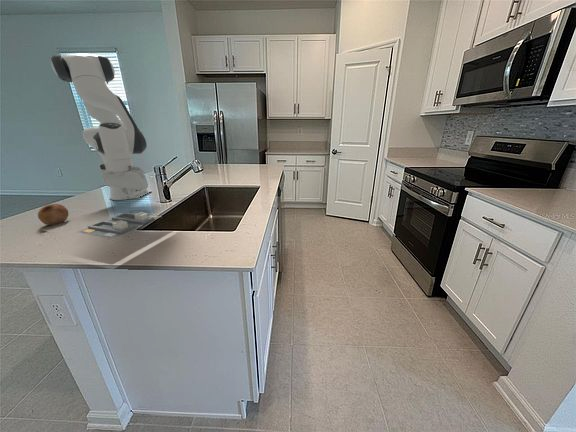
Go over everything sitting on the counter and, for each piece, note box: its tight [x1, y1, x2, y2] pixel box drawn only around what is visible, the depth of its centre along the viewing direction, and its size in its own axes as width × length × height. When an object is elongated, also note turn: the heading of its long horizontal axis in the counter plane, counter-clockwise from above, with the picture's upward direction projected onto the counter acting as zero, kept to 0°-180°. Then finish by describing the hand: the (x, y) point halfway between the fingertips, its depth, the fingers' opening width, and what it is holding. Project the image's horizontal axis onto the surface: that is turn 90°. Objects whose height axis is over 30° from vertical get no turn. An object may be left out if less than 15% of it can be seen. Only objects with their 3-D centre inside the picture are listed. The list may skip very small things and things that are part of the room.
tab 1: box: [112, 220, 128, 230], centre depth 95 cm, size 3×4×4 cm
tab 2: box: [134, 211, 149, 221], centre depth 104 cm, size 3×4×4 cm
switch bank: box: [77, 211, 163, 239], centre depth 102 cm, size 24×18×2 cm
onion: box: [37, 203, 69, 226], centre depth 102 cm, size 10×9×10 cm
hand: (129, 197), depth 104 cm, fingers closed
